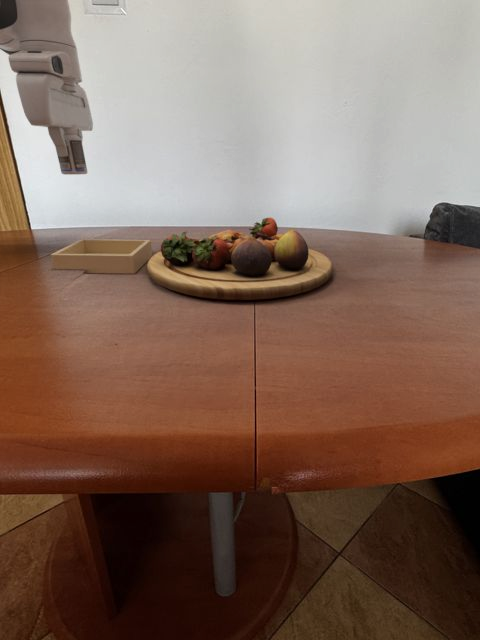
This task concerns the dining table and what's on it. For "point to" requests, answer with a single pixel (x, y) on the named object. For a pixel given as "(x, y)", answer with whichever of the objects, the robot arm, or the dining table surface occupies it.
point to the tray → (104, 256)
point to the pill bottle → (73, 153)
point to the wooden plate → (240, 264)
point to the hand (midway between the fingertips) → (71, 156)
